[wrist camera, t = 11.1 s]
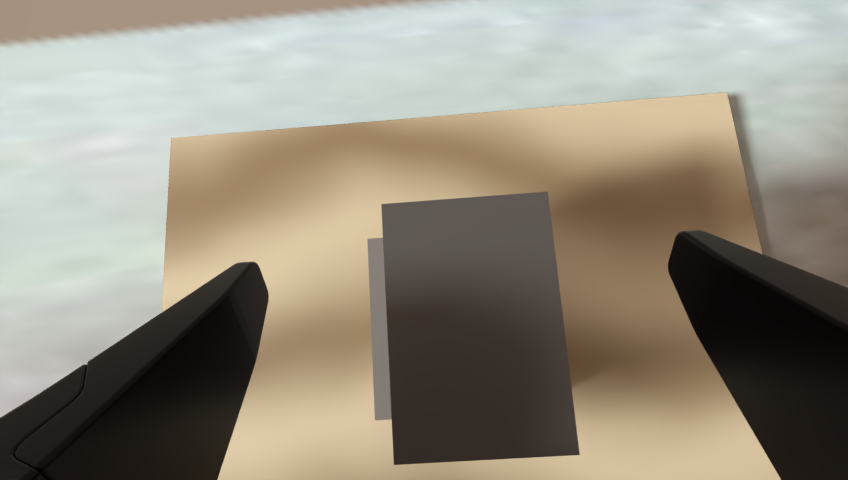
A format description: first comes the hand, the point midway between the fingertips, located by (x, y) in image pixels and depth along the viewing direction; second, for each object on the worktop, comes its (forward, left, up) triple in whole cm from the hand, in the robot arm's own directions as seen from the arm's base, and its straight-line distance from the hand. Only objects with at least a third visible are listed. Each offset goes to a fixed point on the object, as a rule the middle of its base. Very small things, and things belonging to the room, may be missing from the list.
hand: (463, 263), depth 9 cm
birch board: (-2, +2, -9) cm, 9 cm away
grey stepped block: (-1, +1, -7) cm, 7 cm away
